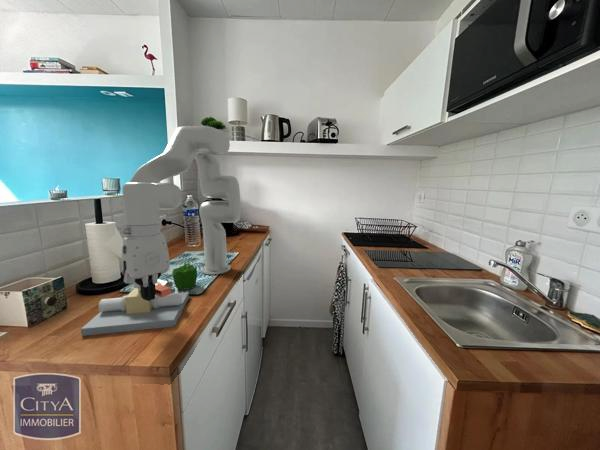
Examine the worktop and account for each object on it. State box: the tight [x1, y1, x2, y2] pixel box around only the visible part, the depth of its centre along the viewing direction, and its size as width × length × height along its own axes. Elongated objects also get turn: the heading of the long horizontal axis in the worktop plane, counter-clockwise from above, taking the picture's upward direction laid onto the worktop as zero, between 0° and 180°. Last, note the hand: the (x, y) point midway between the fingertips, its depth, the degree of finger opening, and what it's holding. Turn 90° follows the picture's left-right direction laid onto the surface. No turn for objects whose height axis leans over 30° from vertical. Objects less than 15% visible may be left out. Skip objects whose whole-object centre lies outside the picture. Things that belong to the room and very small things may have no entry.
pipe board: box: [80, 288, 190, 337], centre depth 74 cm, size 18×22×7 cm
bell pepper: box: [172, 262, 198, 291], centre depth 93 cm, size 8×8×10 cm
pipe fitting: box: [155, 278, 174, 290], centre depth 91 cm, size 8×4×7 cm
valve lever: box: [133, 283, 172, 297], centre depth 71 cm, size 14×3×3 cm, turn 61°
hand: (148, 298), depth 66 cm, fingers closed
